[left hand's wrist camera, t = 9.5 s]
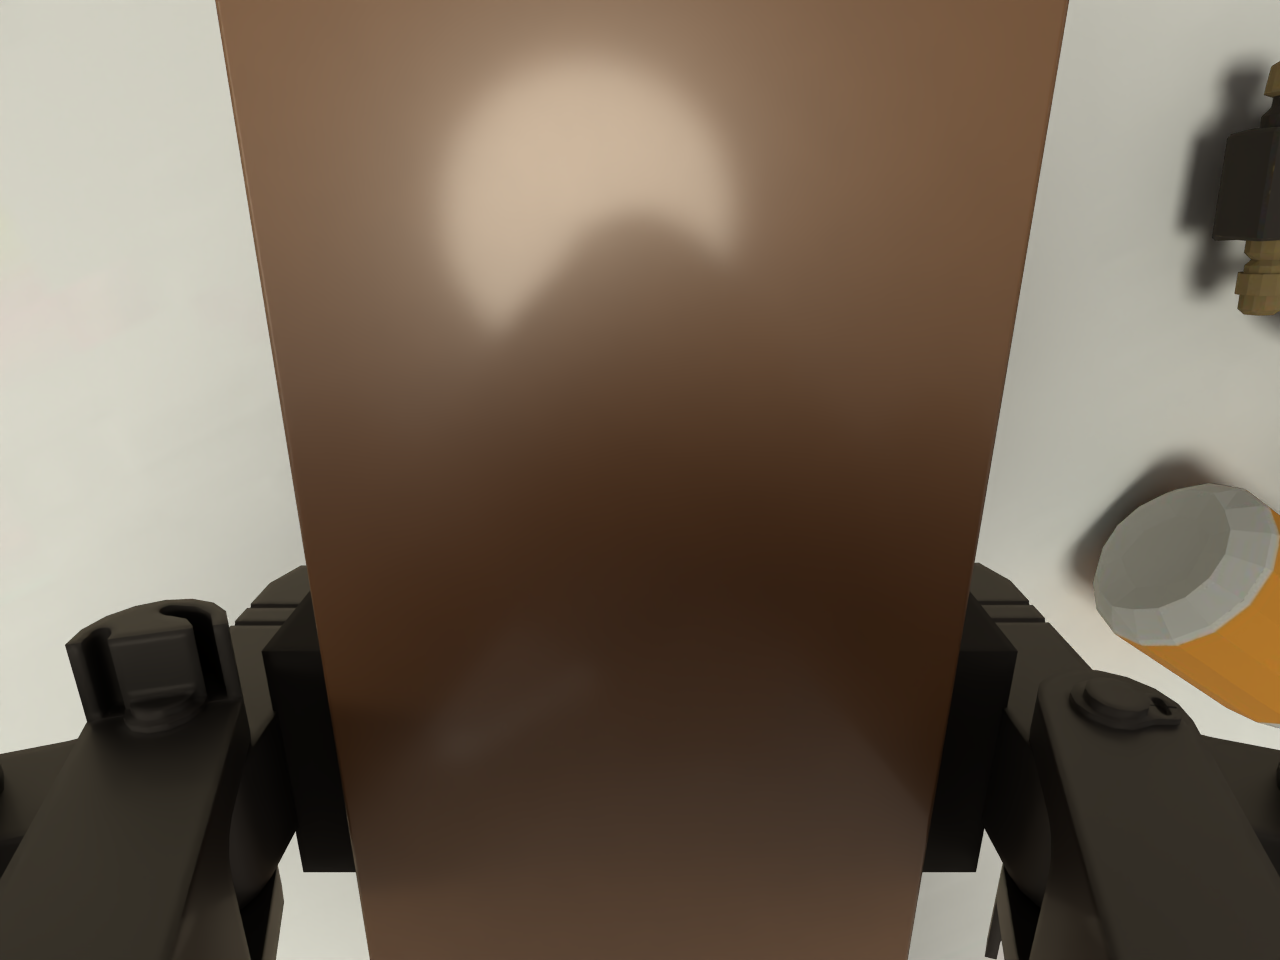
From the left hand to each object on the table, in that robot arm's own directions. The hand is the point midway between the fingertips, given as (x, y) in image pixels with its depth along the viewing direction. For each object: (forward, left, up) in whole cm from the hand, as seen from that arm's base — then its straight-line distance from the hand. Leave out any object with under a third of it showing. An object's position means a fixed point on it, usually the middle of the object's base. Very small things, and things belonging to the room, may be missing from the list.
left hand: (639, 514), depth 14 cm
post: (+20, +9, 0) cm, 21 cm away
